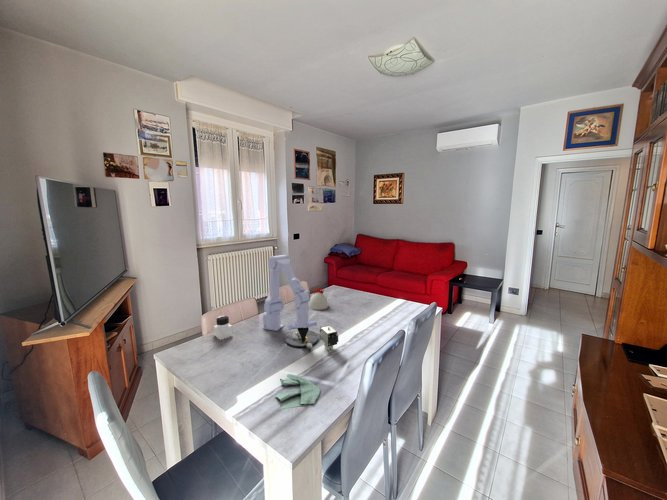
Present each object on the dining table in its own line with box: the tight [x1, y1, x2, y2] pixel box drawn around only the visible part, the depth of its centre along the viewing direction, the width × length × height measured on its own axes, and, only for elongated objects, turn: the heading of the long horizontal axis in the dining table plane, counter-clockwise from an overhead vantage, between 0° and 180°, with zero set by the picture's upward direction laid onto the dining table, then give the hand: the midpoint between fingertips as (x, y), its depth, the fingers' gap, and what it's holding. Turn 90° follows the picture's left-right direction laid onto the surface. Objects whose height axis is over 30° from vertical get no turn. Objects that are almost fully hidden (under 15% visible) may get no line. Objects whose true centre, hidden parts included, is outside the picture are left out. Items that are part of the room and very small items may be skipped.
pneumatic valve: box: [319, 325, 339, 353], centre depth 135 cm, size 6×12×12 cm, turn 27°
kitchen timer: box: [308, 287, 329, 311], centre depth 194 cm, size 14×14×15 cm
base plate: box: [280, 333, 322, 352], centre depth 146 cm, size 19×19×1 cm
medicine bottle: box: [213, 315, 234, 341], centre depth 148 cm, size 7×7×12 cm
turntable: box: [285, 330, 319, 347], centre depth 146 cm, size 17×17×4 cm
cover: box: [292, 330, 301, 341], centre depth 143 cm, size 5×5×4 cm
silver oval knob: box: [306, 342, 312, 352], centre depth 135 cm, size 3×2×4 cm, turn 70°
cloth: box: [275, 373, 321, 410], centre depth 107 cm, size 20×22×2 cm
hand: (303, 341), depth 139 cm, fingers closed
